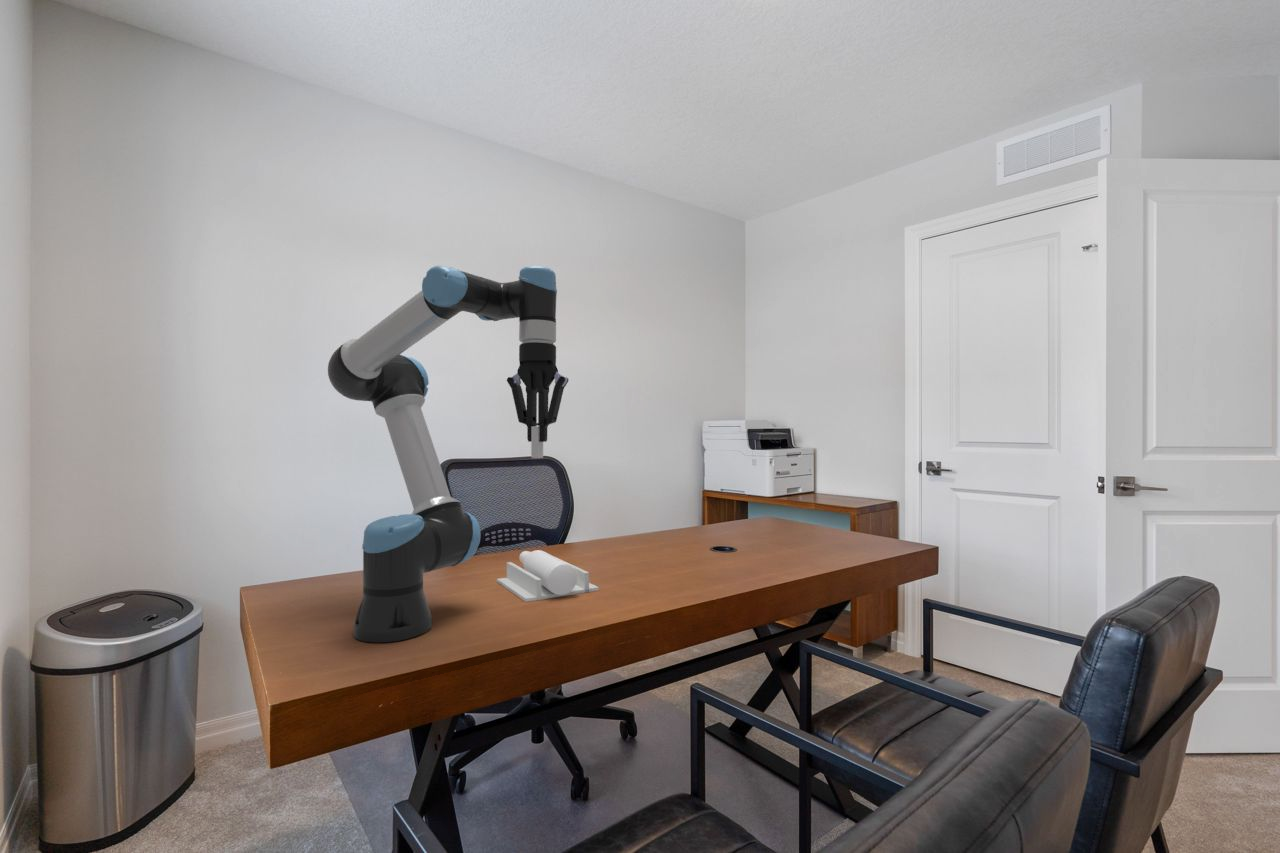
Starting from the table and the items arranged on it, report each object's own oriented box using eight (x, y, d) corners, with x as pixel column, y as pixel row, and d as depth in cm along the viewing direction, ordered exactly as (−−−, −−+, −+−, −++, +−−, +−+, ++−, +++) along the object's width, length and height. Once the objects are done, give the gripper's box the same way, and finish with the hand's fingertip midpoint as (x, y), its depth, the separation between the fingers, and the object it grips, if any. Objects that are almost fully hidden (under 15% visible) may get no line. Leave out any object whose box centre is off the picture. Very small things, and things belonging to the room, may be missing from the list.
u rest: (598, 590, 155) (598, 571, 155) (526, 602, 145) (526, 581, 145) (563, 572, 174) (563, 555, 174) (496, 581, 163) (496, 563, 163)
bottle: (560, 557, 147) (523, 538, 173) (541, 584, 145) (506, 560, 171) (583, 575, 150) (543, 553, 176) (564, 601, 148) (526, 575, 174)
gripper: (573, 345, 125) (573, 457, 125) (516, 346, 128) (515, 456, 128) (561, 340, 117) (560, 459, 117) (500, 342, 120) (499, 458, 120)
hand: (537, 457), depth 122 cm, fingers closed
